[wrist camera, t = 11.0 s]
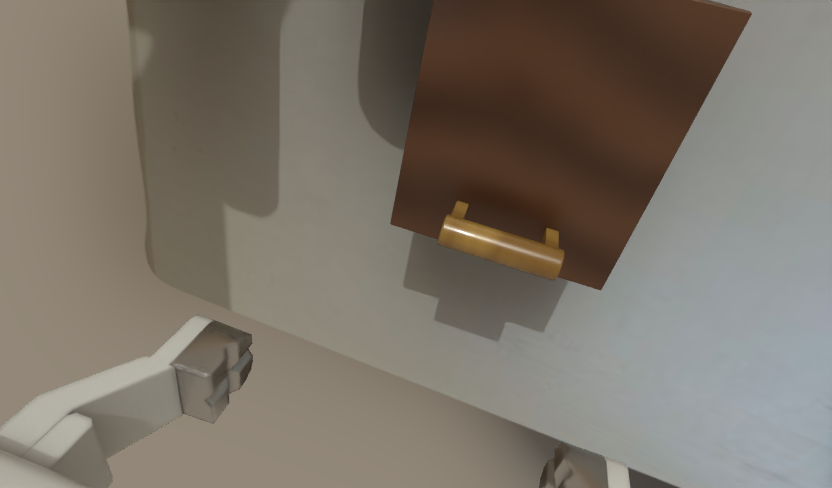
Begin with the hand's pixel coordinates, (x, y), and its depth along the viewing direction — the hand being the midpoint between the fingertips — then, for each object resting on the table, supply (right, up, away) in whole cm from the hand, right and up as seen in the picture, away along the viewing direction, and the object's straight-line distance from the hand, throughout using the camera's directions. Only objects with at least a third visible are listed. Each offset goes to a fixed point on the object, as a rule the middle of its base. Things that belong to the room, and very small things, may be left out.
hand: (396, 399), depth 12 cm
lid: (+6, +9, +12) cm, 16 cm away
